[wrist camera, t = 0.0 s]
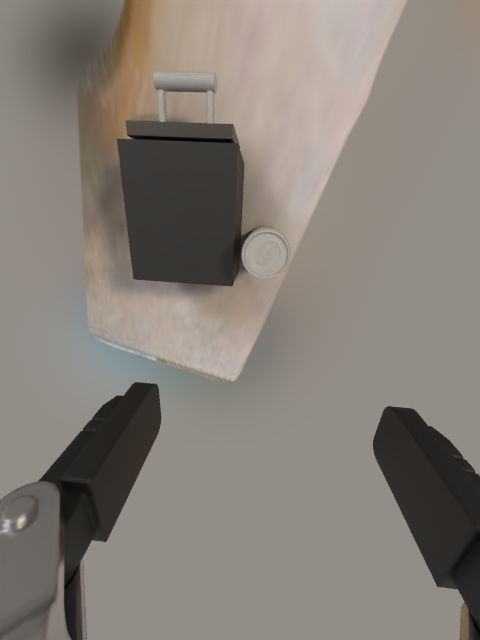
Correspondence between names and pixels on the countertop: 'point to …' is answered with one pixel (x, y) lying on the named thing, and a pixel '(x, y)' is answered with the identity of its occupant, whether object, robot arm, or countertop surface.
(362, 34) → the countertop surface
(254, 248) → the beverage can
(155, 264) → the dark grey lidded box
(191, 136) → the handled box lid
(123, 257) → the countertop surface
